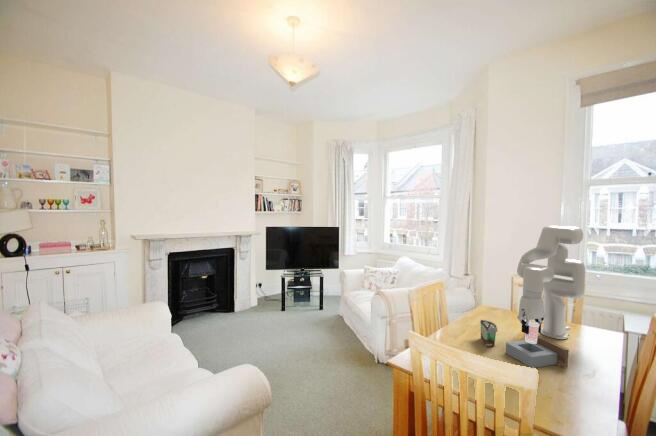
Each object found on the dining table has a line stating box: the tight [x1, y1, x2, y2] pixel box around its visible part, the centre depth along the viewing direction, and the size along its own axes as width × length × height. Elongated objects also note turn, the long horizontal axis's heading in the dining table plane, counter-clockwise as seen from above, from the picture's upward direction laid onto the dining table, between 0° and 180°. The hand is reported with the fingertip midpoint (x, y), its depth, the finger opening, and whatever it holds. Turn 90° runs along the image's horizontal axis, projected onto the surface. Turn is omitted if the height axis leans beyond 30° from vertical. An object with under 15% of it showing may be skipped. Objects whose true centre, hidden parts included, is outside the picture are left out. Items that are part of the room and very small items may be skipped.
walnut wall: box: [523, 333, 570, 369], centre depth 138 cm, size 2×20×8 cm, turn 14°
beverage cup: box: [525, 319, 540, 344], centre depth 136 cm, size 6×6×14 cm
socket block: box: [505, 339, 558, 369], centre depth 136 cm, size 14×14×5 cm
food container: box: [480, 319, 498, 348], centre depth 151 cm, size 12×6×10 cm, turn 168°
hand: (531, 331), depth 136 cm, fingers closed on beverage cup, 6 cm apart
